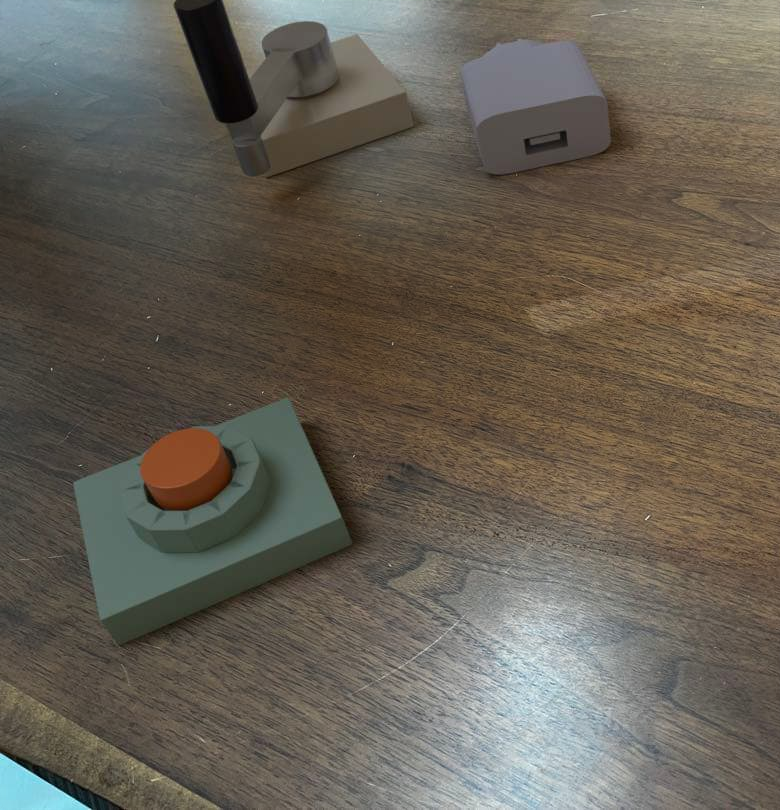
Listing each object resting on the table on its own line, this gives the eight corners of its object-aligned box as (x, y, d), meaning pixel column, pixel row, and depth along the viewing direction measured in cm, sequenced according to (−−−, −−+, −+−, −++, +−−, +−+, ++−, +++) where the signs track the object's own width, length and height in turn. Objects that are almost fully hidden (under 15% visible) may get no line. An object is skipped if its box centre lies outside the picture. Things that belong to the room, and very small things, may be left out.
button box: (118, 646, 52) (83, 597, 49) (89, 508, 59) (57, 458, 56) (353, 544, 55) (332, 493, 52) (299, 423, 61) (279, 372, 59)
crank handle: (292, 75, 87) (243, -84, 78) (350, 74, 86) (307, -88, 77) (216, 180, 77) (150, 11, 68) (281, 181, 76) (222, 8, 67)
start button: (160, 523, 52) (147, 500, 51) (146, 470, 55) (133, 447, 54) (240, 491, 53) (228, 467, 52) (222, 440, 56) (211, 416, 55)
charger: (569, 59, 88) (612, 152, 78) (458, 82, 88) (485, 178, 77) (562, 3, 85) (606, 91, 74) (447, 26, 85) (474, 119, 74)
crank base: (265, 178, 81) (253, 143, 79) (229, 112, 89) (217, 78, 87) (414, 126, 84) (406, 91, 82) (365, 67, 92) (357, 33, 90)
